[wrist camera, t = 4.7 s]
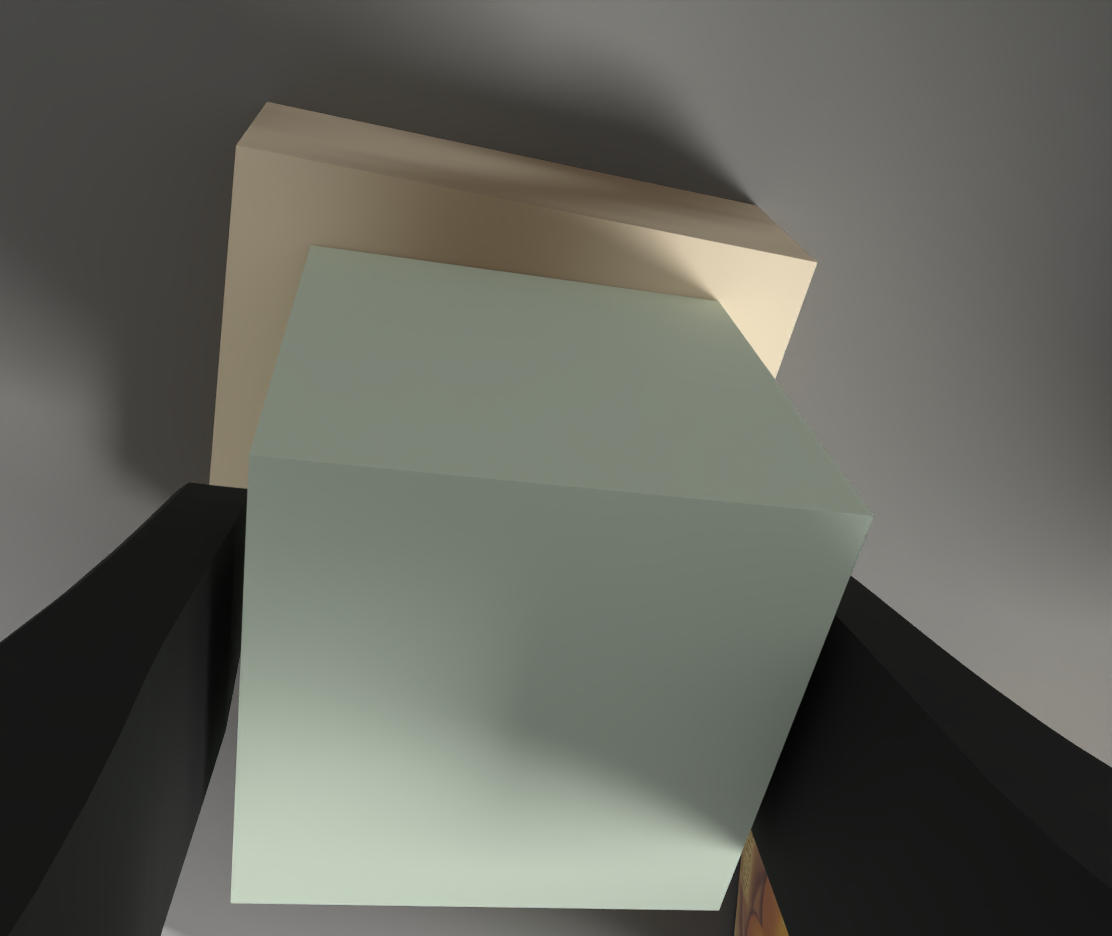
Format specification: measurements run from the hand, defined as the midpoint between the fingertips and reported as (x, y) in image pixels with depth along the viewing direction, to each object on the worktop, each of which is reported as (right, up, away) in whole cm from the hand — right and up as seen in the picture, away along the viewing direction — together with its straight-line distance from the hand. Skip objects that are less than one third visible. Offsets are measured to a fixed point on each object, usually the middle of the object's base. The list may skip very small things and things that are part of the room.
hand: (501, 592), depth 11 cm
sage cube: (0, +2, +2) cm, 3 cm away
